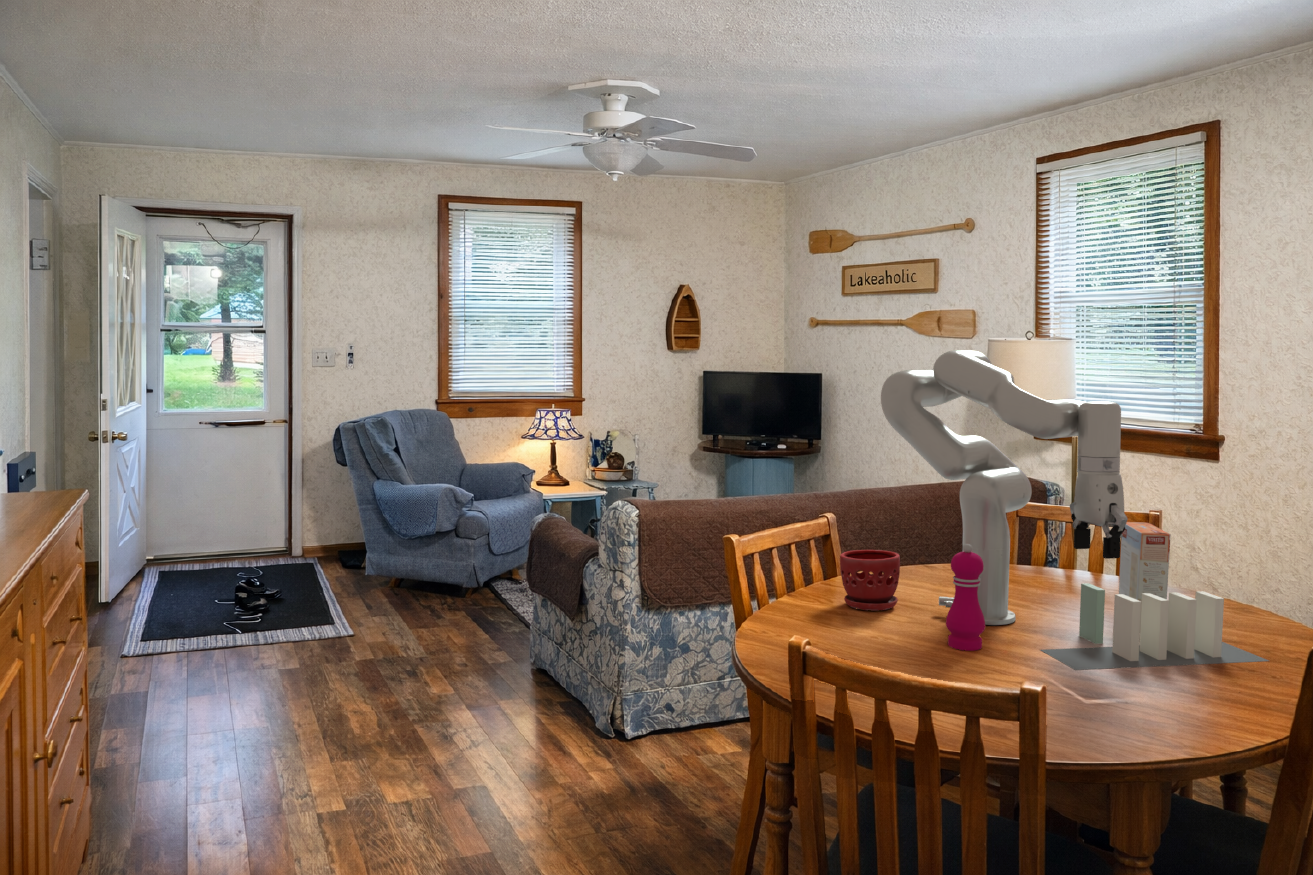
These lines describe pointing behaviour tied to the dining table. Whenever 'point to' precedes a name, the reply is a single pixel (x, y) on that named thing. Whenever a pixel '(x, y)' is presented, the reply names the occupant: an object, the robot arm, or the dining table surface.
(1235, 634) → the dining table surface
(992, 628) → the dining table surface
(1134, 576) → the cracker box
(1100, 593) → the sage domino
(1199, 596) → the domino
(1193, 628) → the domino
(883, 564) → the plant pot
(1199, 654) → the domino mat
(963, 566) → the pepper mill
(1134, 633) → the domino
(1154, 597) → the domino
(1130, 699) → the dining table surface
